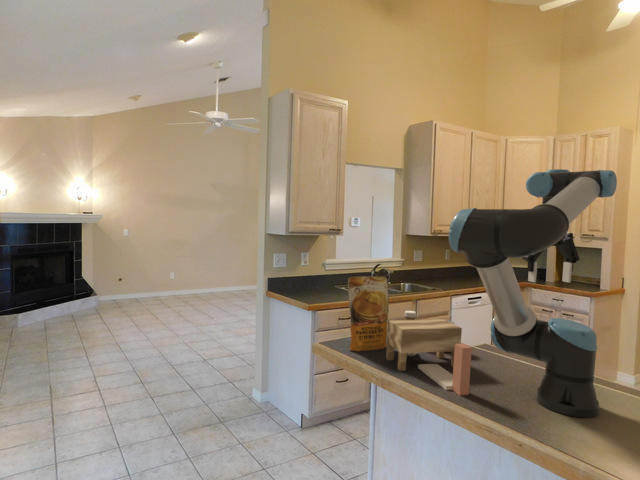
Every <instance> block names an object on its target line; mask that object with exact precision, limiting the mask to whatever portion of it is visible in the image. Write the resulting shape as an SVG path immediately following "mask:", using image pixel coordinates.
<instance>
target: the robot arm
mask: <svg viewBox="0 0 640 480" xmlns="http://www.w3.org/2000/svg"><path fill="white" fill-rule="evenodd" d="M617 182H618V180H617V175H616V173H615V171H613V170H609V169H608V170H607V169H606V170H605V169H598V170H585V171H570V170H568V169H561V168H559V169H558V168H556V169H546V171H538V172H537V171H536V172H534V173H531V175H529V176H528V178H527V179H526V182H525V188H526V190H527V193H528V194H530V195H531V196H533V197H535V198H538V199H539V198H542V199H541V200H542V202H541V204H538V205H536V206H534V207H532V208H522V209H521V208H519V209H518V208H516V209H515V208H514V209H513V208H512V209H511V208H509V209H508V208H488V209H487V208H477V207H473V208H464V209H461V210H459V211H458V212H457V213H456V214H455V215H454V216H453V218H452V220H451V222H450V226H449V231H448V243H449V246H450V249H451V250H452V251H453V252H454V253H455V252H456V253H458V254H461V253H462V254H463V255H464V256H465V257H464V258H465V259H466V261H467V263H468V265H470V266H471V267H474V268H476V270H477V272H478V275H479V277H480V281H481V282H482V284H483V287H484V289H485V292H486V294H487V297H488V298H489V301H490V303H491V306H492V308H493V311H494V313H495V316H494V317H493V318H492V321H491V324H490V332H491V333H490V338H491V341H492V343H493V345H494V346H495V347H496V348H497V349H499V350H500V351H501V350H502V351H504V352H506V353H508V354H513V355H517V356H521V357H525V358H528V359H532V360H536V361H538V362H542V363H545V369H544V370H545V372H544V374H543V377H542V379H541V382H540V384H539V386H538V388H537V389H536V396H535V397H536V401H537V403H539V404H540V405H541V406H543V407H545V408H547V409H549V410H551V411H553V412H555V413H559V414H561V415H566V416H568V417H569V416H570V417H577V418H594V417H596V416H598V415H599V413H600V402H599V401H598V398H597V394H596V393H597V392H596V389H595V385H594V383H595V382H594V381H595V380H594V378H595V369H596V358H597V350H598V345H597V344H598V343H597V339H598V338H597V333H596V332H595V330H594V329H592V328H591V327H589V326H587V325H586V324H583V323H581V322H577V321H574V320H570V319H567V318H566V319H564V318H559V317H552V318H550V319H549V320H548V321H546V320H540V319H538V318H537V316H536V313H535V312H534V310H533V309H532V308H530V307H529V306H527V304H526V301H525V298H524V295H523V293H522V290H521V288H520V285H519V282H518V280H517V277H516V274H515V270H514V268H513V265H512V263H511V260H510V258H514V259H515V258H517V259H518V258H522V260H525V261H526V262H527V268H526V270H527V272H528V276H527V277H528V278H527V282H531V283H537V276H538V275H537V273H538V271H537V270H538V262H536V260H537V259H538V258H539V257H540V256H541V254H542V253H543V252H544V251H545V250H546V249H548V248H550V247H556V248H557V249H558V251H559V252H560V254H561V255H562V257H563V258H564V260H565V261H564V262H563V266H562V267H563V268H562V280H561V281H562V282H564V283H571V282H572V281H571V280H572V272H573V271H574V270H573V269H574V264H577V262H578V261H579V260H580V257H579V254H578V250H577V248H576V244H575V242H574V233H572V232H569V229H570V225H571V224H572V223H573V222H574V221H575V220H576V219H577V218H578V217H579V216H580V215H581V214H582V212H584V211H585V210H586V209H587V208H588V207H589V206H591V204H592V203H593V202H594V201H595V200H596V199H597V198H602V199H603V198H611V197H613V196H614V194H615V193H616V191H617V184H618V183H617Z"/></svg>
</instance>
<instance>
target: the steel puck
mask: <svg viewBox="0 0 640 480" xmlns="http://www.w3.org/2000/svg"><path fill="white" fill-rule="evenodd" d="M417 354H418V353H407V355H406V357H407V358H408V357H410V358H411V357H416V356H417Z"/></svg>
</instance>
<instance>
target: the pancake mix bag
mask: <svg viewBox="0 0 640 480" xmlns="http://www.w3.org/2000/svg"><path fill="white" fill-rule="evenodd" d="M388 282H389V281H388V278H386V276H384V275H374V276H370V275H360V276H359V275H358V276H357V275H355V276H350V277H348V278H347V291H348V292H347V293H348V308H349V314H350V315H349V316H350V326H349V327H350V328H349V329H350V343H349V344H350V345H349V348H348V349H349V351H353V352H369V351H379V350H380V351H381V350H384V349H385V348H387V331H388V320H389V308H390V307H389V306H390V298H389V297H390V296H389V295H390V294H389V283H388Z"/></svg>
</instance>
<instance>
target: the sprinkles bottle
mask: <svg viewBox="0 0 640 480" xmlns="http://www.w3.org/2000/svg"><path fill="white" fill-rule="evenodd" d="M416 317H417V312H416V311H414V310H405V311H404V320H416V319H417V318H416Z"/></svg>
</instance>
